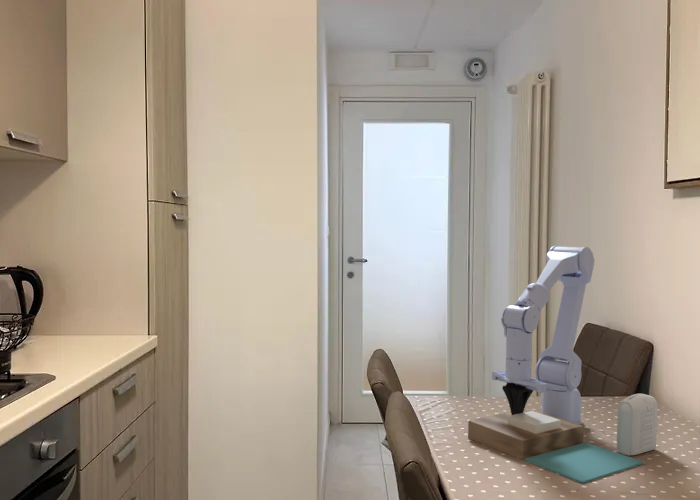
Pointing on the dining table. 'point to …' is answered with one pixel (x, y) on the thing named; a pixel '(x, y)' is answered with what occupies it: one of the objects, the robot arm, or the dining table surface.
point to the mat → (584, 462)
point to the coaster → (534, 422)
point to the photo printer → (637, 424)
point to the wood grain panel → (523, 436)
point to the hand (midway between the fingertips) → (517, 417)
